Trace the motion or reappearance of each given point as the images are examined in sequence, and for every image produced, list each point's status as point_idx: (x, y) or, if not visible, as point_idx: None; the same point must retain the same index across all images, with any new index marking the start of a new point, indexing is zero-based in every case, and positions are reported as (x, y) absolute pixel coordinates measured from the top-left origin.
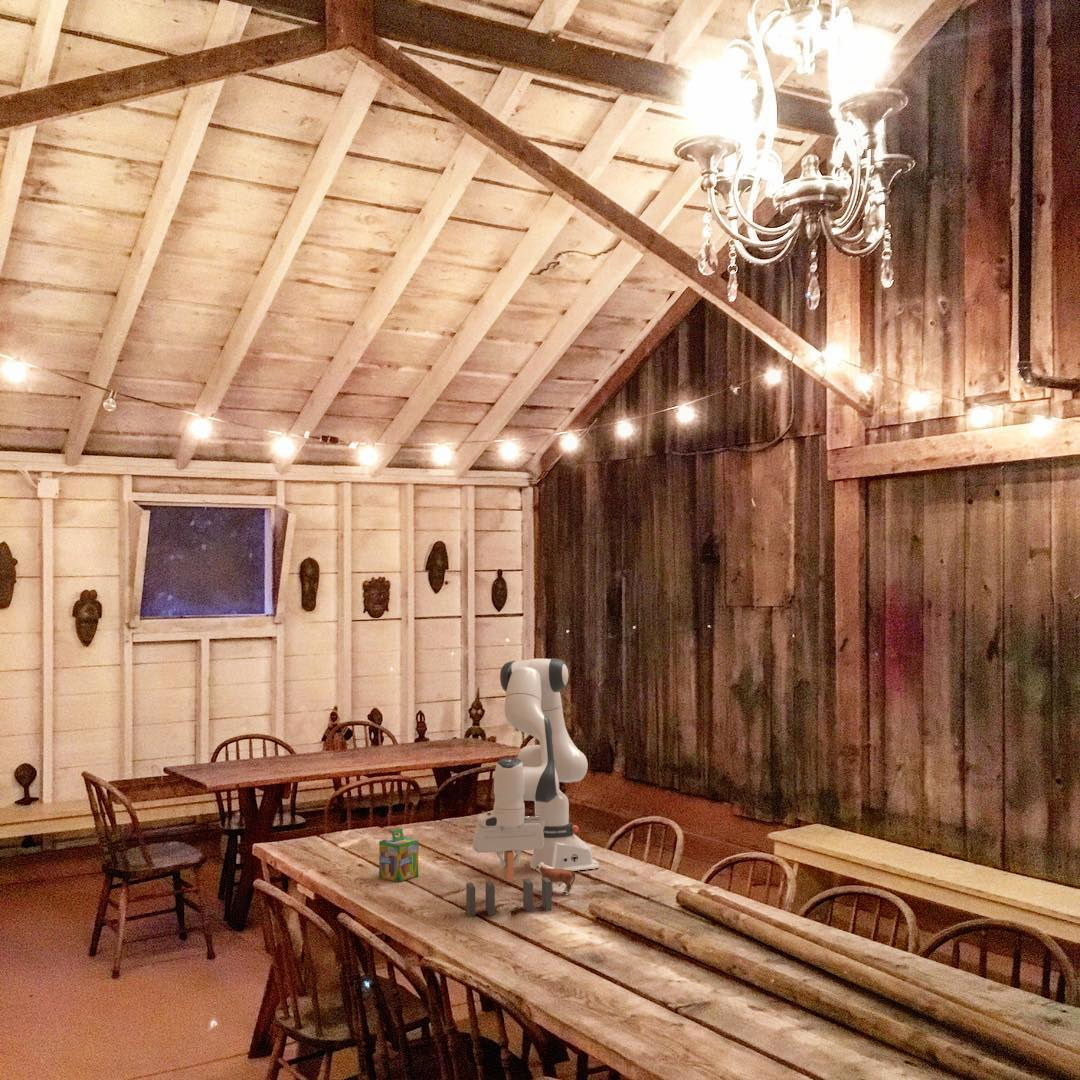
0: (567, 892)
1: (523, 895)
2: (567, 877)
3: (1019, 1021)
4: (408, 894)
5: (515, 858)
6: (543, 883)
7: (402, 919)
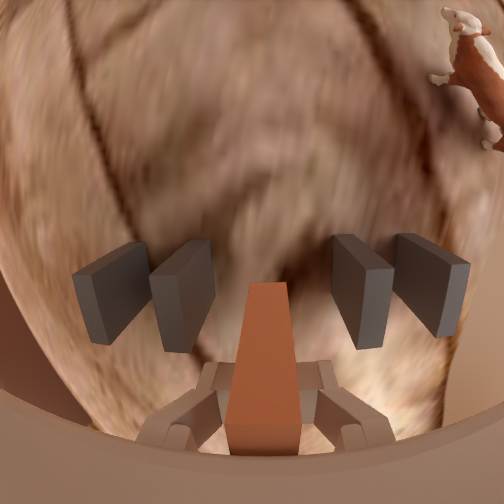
0: (490, 147)
1: (344, 252)
2: None
3: None
4: (29, 65)
5: (323, 423)
6: (437, 288)
7: (14, 270)
